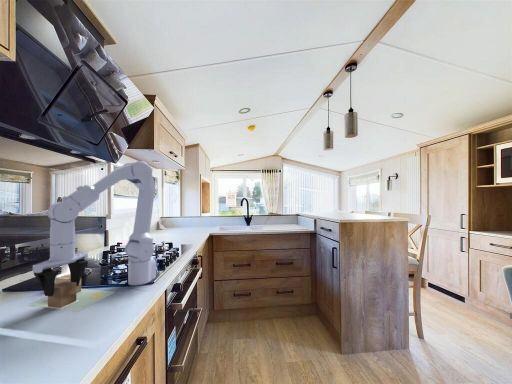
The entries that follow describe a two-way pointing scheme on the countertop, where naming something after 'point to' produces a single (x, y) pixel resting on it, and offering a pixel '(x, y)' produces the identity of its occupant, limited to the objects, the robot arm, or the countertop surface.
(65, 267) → the white curved piece
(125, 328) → the countertop surface
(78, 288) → the oak block
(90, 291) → the board
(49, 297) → the walnut block
